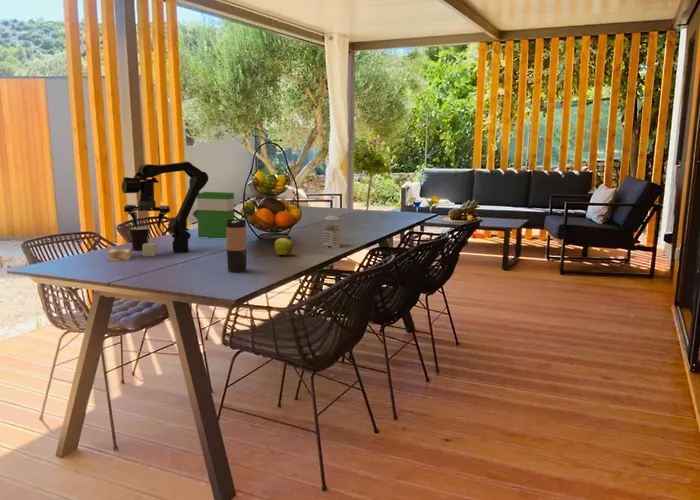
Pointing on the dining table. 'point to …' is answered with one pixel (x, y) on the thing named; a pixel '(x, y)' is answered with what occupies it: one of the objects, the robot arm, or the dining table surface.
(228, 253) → the travel mug
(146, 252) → the yellow cube
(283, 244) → the apple
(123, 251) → the oak block
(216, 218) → the cereal box
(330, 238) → the french press
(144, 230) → the coffee mug
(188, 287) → the dining table surface
